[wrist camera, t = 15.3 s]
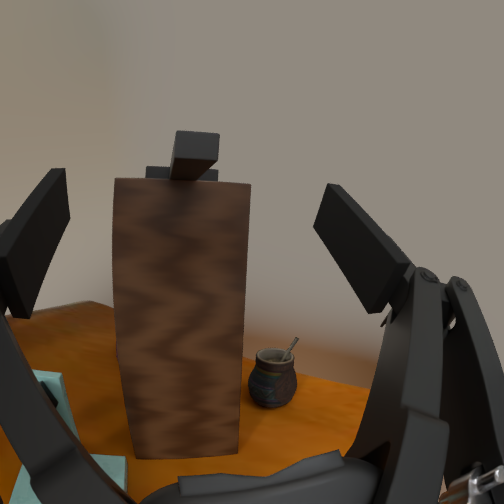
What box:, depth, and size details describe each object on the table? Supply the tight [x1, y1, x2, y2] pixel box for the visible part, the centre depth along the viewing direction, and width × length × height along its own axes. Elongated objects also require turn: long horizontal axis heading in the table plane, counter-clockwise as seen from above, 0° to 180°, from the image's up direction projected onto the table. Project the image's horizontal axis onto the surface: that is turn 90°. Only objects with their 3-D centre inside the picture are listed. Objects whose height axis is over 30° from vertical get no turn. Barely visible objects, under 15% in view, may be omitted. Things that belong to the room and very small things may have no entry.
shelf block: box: [112, 178, 251, 459], centre depth 34 cm, size 12×14×30 cm
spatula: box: [145, 131, 220, 182], centre depth 27 cm, size 7×23×2 cm, turn 16°
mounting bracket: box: [9, 370, 128, 504], centre depth 18 cm, size 12×10×14 cm
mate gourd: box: [248, 337, 298, 408], centre depth 43 cm, size 7×8×10 cm
